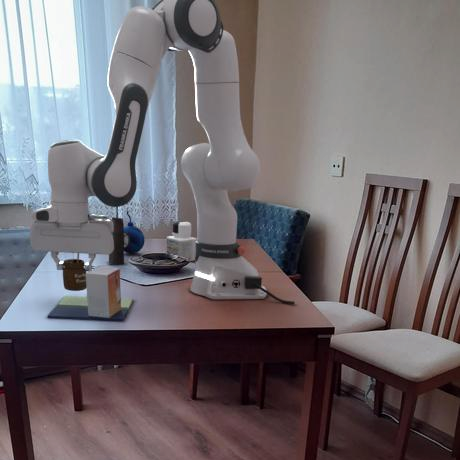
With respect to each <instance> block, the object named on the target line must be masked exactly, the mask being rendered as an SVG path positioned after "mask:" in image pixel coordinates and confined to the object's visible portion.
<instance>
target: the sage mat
mask: <svg viewBox="0 0 460 460" xmlns="http://www.w3.org/2000/svg"><path fill="white" fill-rule="evenodd" d="M133 301H134V299H133V298H123V297H121V309H128V311H129V310H130V308H131V305H132V303H133ZM57 306H65V307H87V308H88V302H87V296H78V295H65V296H64V297H63V298H62V299H61V300H60V301H59V302H58V303H57Z"/></svg>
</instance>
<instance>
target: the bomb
mask: <svg viewBox="0 0 460 460" xmlns="http://www.w3.org/2000/svg"><path fill="white" fill-rule="evenodd" d="M126 215H127V216H128V218H129V221H128V222H127V225H124V253H126V254H137V253H138V252H140V251H141V250H142V249H143V248H144V246H145V240H146V239H145V235H144V232H143V231H142V229H140V228H139V227H138V226H136V225H134V222H133V221H132V218H131V216H130V214H129V210H126Z"/></svg>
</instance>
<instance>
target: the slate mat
mask: <svg viewBox="0 0 460 460" xmlns="http://www.w3.org/2000/svg"><path fill="white" fill-rule="evenodd" d="M128 312H129V310H128V309H121V310H120V311H118V312H117V313H115V314H114V315H113V316H111V317H110V318H104V317H95V316H89V315H88V308H87V307H65V306H58V305H56V306H55V307H54V308H53V309H52V310H51V311H50V312H49V314H48V315H47V319H61V320H62V319H63V320H84V321H103V322H104V321H108V322H124V321H125V318H126V316H127V314H128Z"/></svg>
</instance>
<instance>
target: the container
mask: <svg viewBox="0 0 460 460" xmlns="http://www.w3.org/2000/svg"><path fill="white" fill-rule="evenodd" d="M196 240H197V237H194V236H192V224H191V222H189V221H186V220H175V221H173V222H172V235H169V236H166V254H167V253H168V254H173V255H178V256H182V257H185V258H188V260H189V261H188V262H193V261H196V260H195V243H196Z"/></svg>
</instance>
